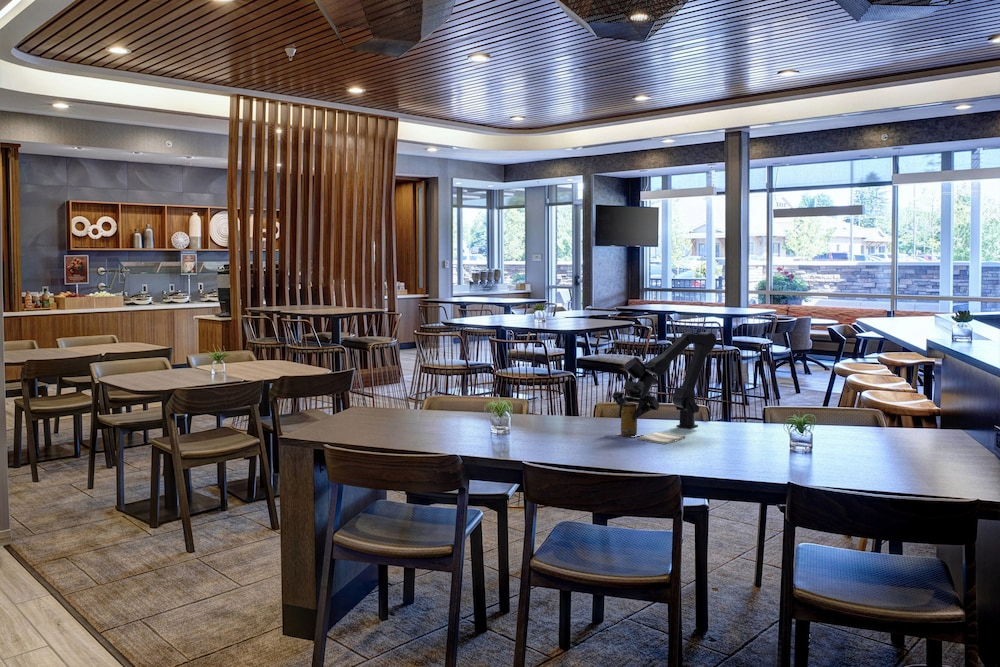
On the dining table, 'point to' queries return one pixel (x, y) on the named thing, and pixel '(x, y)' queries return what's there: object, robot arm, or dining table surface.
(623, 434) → the condiment
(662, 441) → the serving board
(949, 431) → the dining table surface
